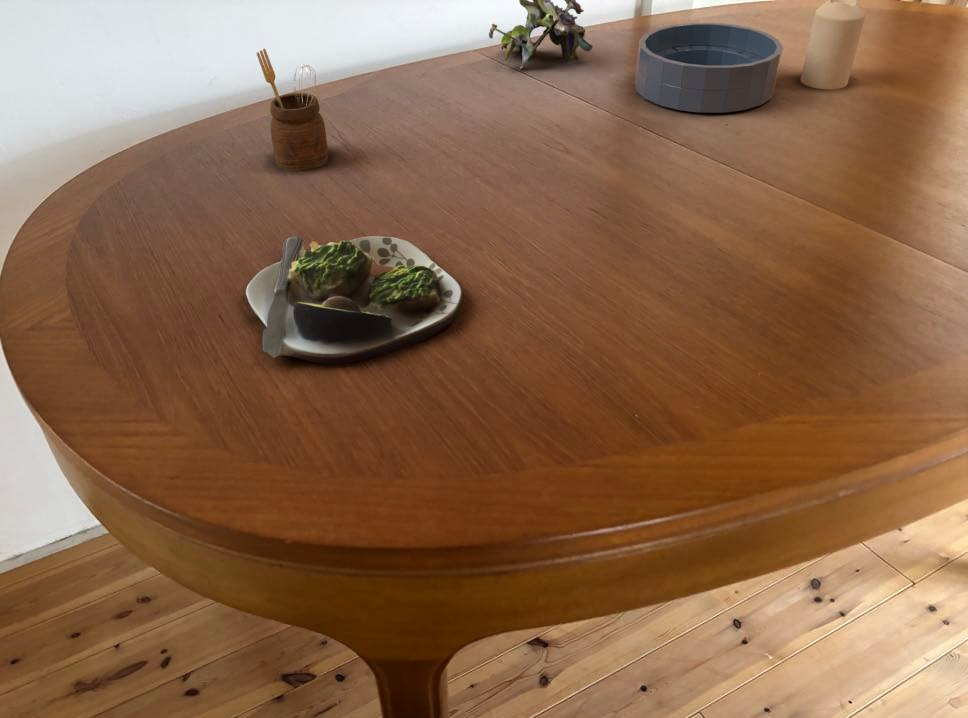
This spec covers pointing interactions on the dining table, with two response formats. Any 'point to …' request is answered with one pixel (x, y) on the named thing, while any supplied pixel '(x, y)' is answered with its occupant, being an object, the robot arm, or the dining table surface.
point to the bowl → (707, 67)
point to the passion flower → (556, 25)
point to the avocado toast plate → (351, 299)
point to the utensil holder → (295, 125)
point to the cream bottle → (833, 44)
